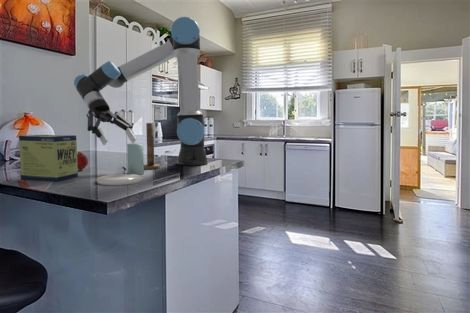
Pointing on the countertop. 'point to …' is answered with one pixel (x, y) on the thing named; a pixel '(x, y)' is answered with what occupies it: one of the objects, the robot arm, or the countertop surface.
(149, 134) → the walnut post
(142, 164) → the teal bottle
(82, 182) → the countertop surface
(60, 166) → the protein box
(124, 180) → the cream plate
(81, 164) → the red fruit
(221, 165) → the countertop surface
